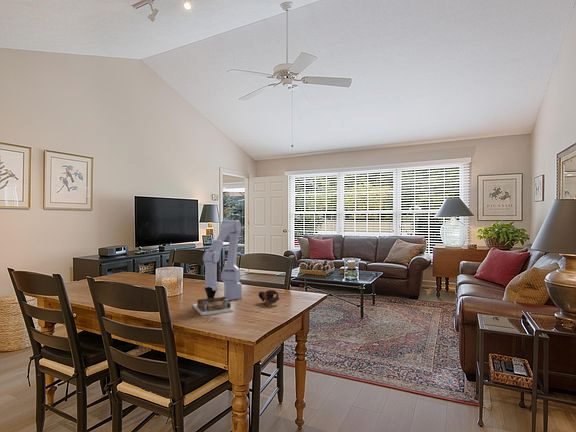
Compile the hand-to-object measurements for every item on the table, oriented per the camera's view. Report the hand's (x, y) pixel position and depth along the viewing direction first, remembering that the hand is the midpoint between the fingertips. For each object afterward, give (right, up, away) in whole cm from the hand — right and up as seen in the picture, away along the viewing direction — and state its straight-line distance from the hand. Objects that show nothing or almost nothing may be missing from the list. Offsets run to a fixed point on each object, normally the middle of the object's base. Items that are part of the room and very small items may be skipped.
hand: (210, 302), depth 170 cm
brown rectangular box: (+3, -1, -5) cm, 6 cm away
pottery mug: (+29, -3, +9) cm, 30 cm away
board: (+1, -3, -3) cm, 4 cm away
